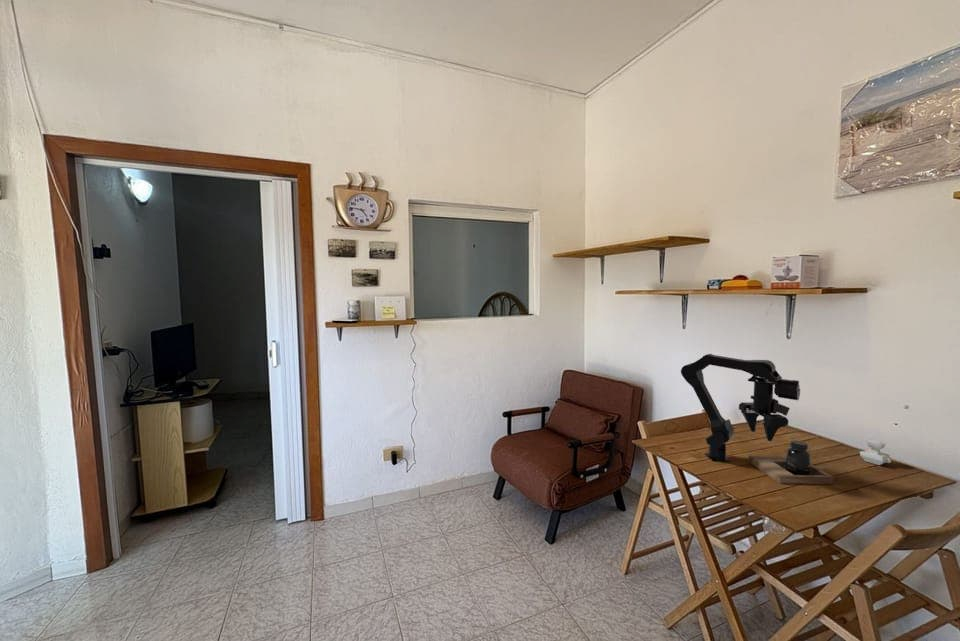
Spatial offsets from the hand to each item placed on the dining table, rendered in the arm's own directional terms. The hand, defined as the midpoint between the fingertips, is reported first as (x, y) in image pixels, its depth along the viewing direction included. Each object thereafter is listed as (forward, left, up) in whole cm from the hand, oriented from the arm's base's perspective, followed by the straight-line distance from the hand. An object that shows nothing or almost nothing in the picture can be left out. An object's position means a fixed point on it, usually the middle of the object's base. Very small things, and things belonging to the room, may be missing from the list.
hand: (760, 436), depth 146 cm
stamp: (-7, +48, -13) cm, 50 cm away
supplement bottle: (+3, +11, -13) cm, 18 cm away
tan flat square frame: (+1, +9, -13) cm, 16 cm away
